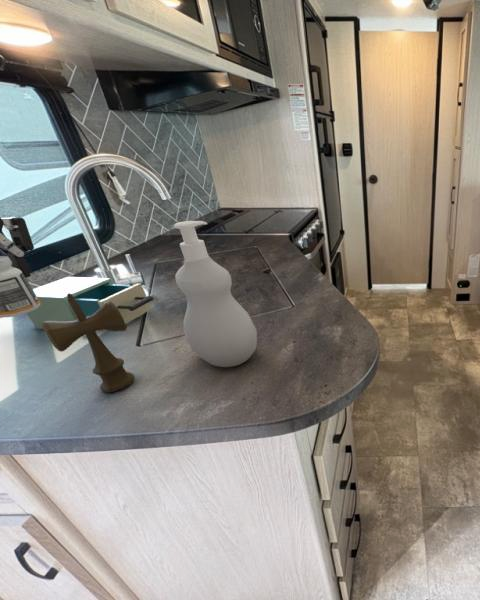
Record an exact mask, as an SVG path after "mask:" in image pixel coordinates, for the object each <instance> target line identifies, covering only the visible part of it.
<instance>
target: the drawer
mask: <svg viewBox="0 0 480 600" xmlns="http://www.w3.org/2000/svg"><path fill="white" fill-rule="evenodd" d="M74 298H75V300H76V302H77V303H78V305H79V306H80V308H81V310H82V311H83V313H84V315H85V316H86V317H88V316H91V315H93V314H94V313H96V312H97V311H98V310H99V309H100V308H101V307H102V306H103V305H104V304H105V303H106V302H107V301H110V302H112V303H113V304H114V305H115V306H116V307H117V309H118V310H119V312H120V314H121V315H122V317H123V319H124V322H125V325H127V324H128V323H130V322H132V321H134V320H135V319H138V318H139V317H141V315H144V314H145V313H147V312H149V311H151V310H152V309H153V308H152V306H151V304H150V303H151V302H152V301H154V297H153V296H152V295H148V296H147V294H146V292H145V289H144V287H143V284H142V283H138V282H137V283H134V284H133V285H131V284H118V283H117V284H115V283H113V284H103V285H101V286H98V287H96V288H93V289H91V290H89V291H86V292H84V293H81V294H79V295H77V296H74ZM67 300H68V301H69V299H67ZM69 303H70V301H69ZM70 305H71V303H70ZM71 307H72V305H71ZM72 308H73V307H72ZM73 310H74V309H73ZM74 312H75V311H74ZM75 314H76V313H75Z"/></svg>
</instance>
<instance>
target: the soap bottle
mask: <svg viewBox="0 0 480 600" xmlns="http://www.w3.org/2000/svg"><path fill="white" fill-rule="evenodd" d="M202 225H208V222H206V221H204V220H185V221H179V222H176V223H174V224H173V228H174V229H176V230H177V229H178V230H179V231H180V234H181V237H182V242H180V243H179V248H180V251H181V253H182V256H183V264H182V266H181V267H180V268H179V269H178V270H177V272H176V273H175V274H174V278H175V283H176V285H177V287H178V289H179V290H180V291H181V292H182V293H183V294H184V295H185V298H186V301H187V303H186V310H185V313H184V318H183V322H182V323H183V329H184V330H183V331H184V337H185V341H186V343H187V344H188V345H189V347H190V348H191V349H192V350H193V352H194V353H195V354H196V356H198V357H199V358H200V359H202V360H204V362H207V363H208V364H210V365H211V366H214V367H220V368H232V367H236V366H239V365H241V364H243V363H245V362H247V361H248V360H249V359H250V358H251V356H253V354H254V353H255V351H256V350H257V347H258V330H257V328H256V326H255V324H254V322H253V320H252V318H251V316H250V314H249V313H248V312H247V310H246V309H244V308H243V306H241V304H240V303H239V302H238V301H237V300H236V299H235V297H234V296H233V294H232V292H231V291H232V290H231V289H232V286H233V280H232V276H231V274H230V273H229V271H228V270H227V269H226V268H224V267H223V266H221V265H220V264H218V263H217V262H216V261H214V259H212V258H211V256H209V253H208V251H207V247H206V243H205V240H203V239H199V237H198V234H197V231H196V228H195V227H197V226H202Z"/></svg>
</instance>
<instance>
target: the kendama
mask: <svg viewBox="0 0 480 600" xmlns="http://www.w3.org/2000/svg"><path fill="white" fill-rule="evenodd" d="M67 296H68V299H69V301H70V303H71V305H72V307H73V309H74V311H75V313H76V315H77V317H78V320H75V321H44V322H43V323H42V326H43V329H42V330H43V331H44V333H45V335H46V337H47V338H48V340H49V341H50V343H51V345H52V346H53V347H54V348H55V349H56V350H57V351H58V352H65V351H66V350H68V349H69V348H70V347H71V346H72V345H73V344H74V343H75V342H76V341H78V340H79V339H81V338H82V337H84V336H86V339H87V341H88V344H89V348H90V349H91V352H92V356H93V359H94V362H95V364H94V365H95V366H94V367H93V368H92V373H93V374H94V375H96V376H100V379H101V380H102V382H101V384H100V386H99V388H100V391H101V392H103V393H114V392H118V391H120V390H123V389H125V388H126V387H128V386H129V385H130V384H132V383H133V382H134V380H135V375H134V374H133V373H131V372H129V371H126V369H125V367H124V364H125V360H124V359H123V358H121V357H116V356H115V355H114V354H113V353H112V351H111V350H110V349H109V348H108V347H107V346H106V345H105V343H104V342H103V340H102V339H101V338H100V336H99V335H98V333H97V332H99V331H114V332H125V331H126V330H127V324H125V322H124V319H123V317H122V315H121V314H120V312H119V310H118V309H117V307H116V306H115V305H114V304H113V303H112V302H110V301H107V302H106V303H105V304H104V305H103V306H102V307H101V308H100V309H99V310H98V311H97V312H96V313H94V314H93V315H91V316H88V317H86V316H85V315H84V313H83V311H82V310H81V308H80V306H79V305H78V303H77V302H76V300H75V298H74V297H73V296H72V294H70V293H68V294H67Z"/></svg>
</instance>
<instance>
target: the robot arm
mask: <svg viewBox="0 0 480 600" xmlns="http://www.w3.org/2000/svg"><path fill="white" fill-rule="evenodd" d="M3 227H4V228H5V229H6V230H7V231H8V232H9V235H10V238H11V239H9V238H8V237H6V236H5V235H4V234H2V231H3ZM34 249H35V246H34V242H33V239H32V237H31V234H30V232H29V229H28V226H27V223H26V220H25V218H23V217H18V216H7V217H0V253H2V254H3V255H4V256H8V257H9V259H10V260H11V262H12V265H11V266H12V267H14V268H18V269H19V270H21V271H22V272H23V274H24V276H25V278H26V279H27V278H29V277H31V273H32V268H31V267H30V265H29V263H28V262H27V260H26V258H25V254H26V253H28V252H29V251H33V250H34Z"/></svg>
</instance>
